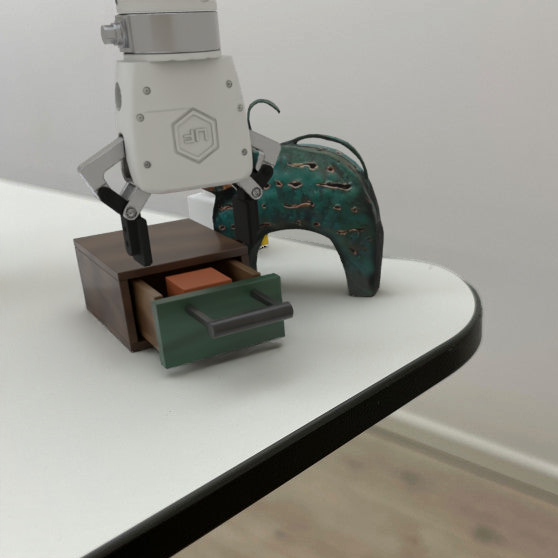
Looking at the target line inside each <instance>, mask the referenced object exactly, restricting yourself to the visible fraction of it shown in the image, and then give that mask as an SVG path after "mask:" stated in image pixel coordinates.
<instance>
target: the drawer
mask: <svg viewBox="0 0 558 558" xmlns="http://www.w3.org/2000/svg"><path fill="white" fill-rule="evenodd" d="M210 267H211V268H213V269H215V270H217V271H218V272H220V273H222V274H224V275H225V276H227V277H229V278H230V279H232V283H228V284H224V285H219V286H215V287H211V288H206V289H202V290H198V291H193V292H189V293H184V294H180V295H176V296H171V297H168V292H167V285H166V279H165V278H166V277H169V276H173V275H178V274H183V273H187V272H192V271H196V270H201V269H206V268H210ZM128 285H129V291H130V297H131V303H132V309H133V314H134V320H135V326H136V331H138V332H139V333H140V334H141V335H142V336H143V337H144V338H145V339H146V340H148V341H149V342H150V343H151V344H152V345H153V346H154V348H155V349H156V350H158V353H159V359H160V365H161V366H162V367H163V368H164V369H165V370H169V369H173V368H177V367H181V366H184V365H188V364H191V363H194V362H198V361H202V360H205V359H209V358H212V357H216V356H219V355H220V356H221V355H224V354H227V353H230V352H234V351H239V350H241V349H246V348H249V347H252V346H255V345H259V344H263V343H267V342H270V341H273V340H278V339H281V338H285V337H286V327H285V320H289V319H292V318H293V317H294V315H295V311H294V306H293V304H292V303H291V302H290V301H288V300H287V301H283V292H282V291H283V290H282V280H281V276H280V274H277V273H275V272H272V273H268V274H263V275H262V274H261V272H260V271H258V270H257V271H256V270H254V269H252V268H250V267H248V266H246V265H244V264H243V263H241V262H239V261H237V260H235V259H233V258H228V259H223V260H218V261H213V262H209V263H204V264H199V265H195V266H190V267H185V268H180V269H176V270H171V271H166V272H162V273H157V274H152V275H147V276H143V277H138V278H133V279H128Z"/></svg>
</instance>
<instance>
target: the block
mask: <svg viewBox="0 0 558 558" xmlns="http://www.w3.org/2000/svg"><path fill="white" fill-rule="evenodd" d="M165 279H166V285H167V292H168V297H171V296H176V295H180V294H184V293H189V292H193V291H198V290H202V289H206V288H211V287H215V286H219V285H224V284H228V283H232V279H230V278H229V277H227V276H225V275H224V274H222V273H220V272H218V271H217V270H215V269H213V268H211V267H210V268H206V269H201V270H196V271H192V272H187V273H183V274H178V275H173V276H169V277H166V278H165Z"/></svg>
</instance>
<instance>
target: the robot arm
mask: <svg viewBox="0 0 558 558" xmlns="http://www.w3.org/2000/svg"><path fill="white" fill-rule="evenodd" d="M114 1H115V2H114V3H115V8H116V13H117V14H116V15H115V14H114V22H111V23H110V24H101V26H100V37H101V41H102V43H103V44H104V45H113V46H115V47H117V48H118V49H119V52H120V53H122V57H123V59H118V60H115V67H114V68H115V69H114V115H115V116H114V117H115V119H114V120H115V131H116V138H115V139H114V140H112V141H111V142H110V143H108V144H107V145H105V146H104V147H103V148H101V149H99V150H98V151H97V152H96V153H94V154H93V155H91V156H90V157H88V158H87V159H86V160H84V161H82V162H81V163H80V164H79V165H78V166H77V167H76V169H77V170H76V171H77V173H78V175H79V176H80V178H81V180H82V181H83V182H84V183H85V185H86V186H87V187H88V189H89V190H90V192H92V193H93V196H94V197H95V198H96V199H97V200H98V201H100V202H101V203H102V204H104V205H106V206H107V207H108V208H110V209H111V210H112V211H114V212H115V213H117V214H118V215H119V217H120V223H121V228H122V229H121V230H123V236H124V242H125V248H126V251H127V254H128V255H129V256H133V259H134V260H135V261H137V262H138V263H139V264H141V265H142V266H144V267H146V266H151V264H152V263H153V260H152V253H151V247H150V240H149V233H148V226H147V225H148V221H147V219H146V218H145V217H143V216H142V213H141V212H142V210H144V207H145V205H146V203H147V202H148V200H149V199H150V197H151V196H152V195H166V194H174V193H181V192H187V191H188V192H189V191H192V190H201V188H208V187H214V186H221V185H227V184H231V185H232V186H233V187H234V188H235V189H236V193H237V195H233V198H232V205H233V216H234V226H235V236H236V238H237V239H239V240H241V241H243V242H245V243H247V244H249V245H251V246H252V245H257V243H258V240H257V232H259V230H260V225H259V213H258V201H257V199H259V198H260V197H261V196H262V193H263V191H262V190H263V188H264V187H265V186H266V184H267V183H268V181H269V180H270V179H271V177H272V176H273V173H274V170H273V168H274V166H275V164H276V162H277V159H278V156H279V153H280V150H281V145H280V143H281V142H278V141H276V140H274V139H272V138H270V137H268V136H265V135H263V134H261V133H258V132H256V131H254V130H253V129H252V130H250V129H249V128H248V122H247V110H246V106H245V100H244V97H243V92H242V88H241V83H240V79H239V76H238V72H237V68H236V64H235V62H234V58H233V56H232V55H228V54H222V46H221V45H222V44H221V35H220V23H219V13H218V6H217V4H218V3H217V0H114ZM251 147H253V148H255V149H257V150H258V152H259V156H258V161H257V163H256V164H255V165H254V166H253V160H252V149H251ZM243 153H244V154H243ZM118 163H119V167H120V170H121V175H122V178H123V180H124V181H125V182H126V183H125V184H124V186H123V187H122V189H121V191H120V192H119V193H117V192H116V191H115V190H113V189H112V188H111V186H110V185H109V184H108V182H107V181H106V179H105V173H107V171H108V170H110V169H112V168H113V167H114V166H115V165H117V164H118Z"/></svg>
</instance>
